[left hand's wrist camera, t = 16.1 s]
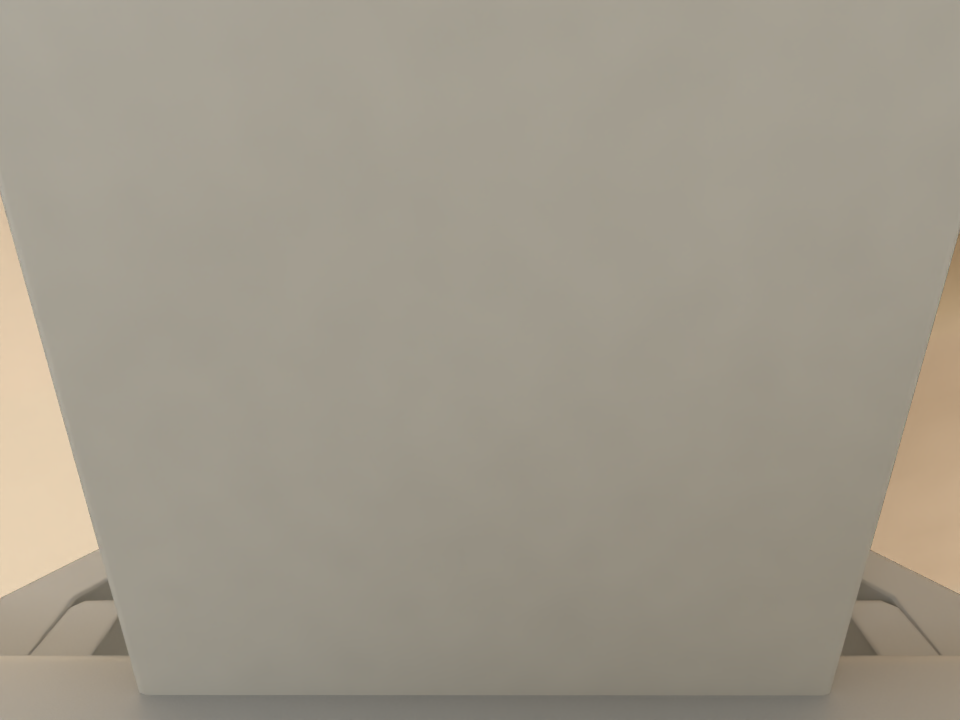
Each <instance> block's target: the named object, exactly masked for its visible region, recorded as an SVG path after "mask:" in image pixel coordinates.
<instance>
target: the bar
mask: <svg viewBox="0 0 960 720" xmlns="http://www.w3.org/2000/svg"><path fill="white" fill-rule="evenodd" d="M0 194H1V198H2V201H3V205H4V208H5V212H6V216H7V219H8V223H9V226H10V230H11V233H12V237H13V241H14V244H15V248H16V251H17V255H18V259H19V262H20V266H21V269H22V273H23V277H24V280H25V284H26V287H27V291H28V295H29V298H30V302H31V305H32V309H33V313H34V316H35V320H36V323H37V327H38V330H39V334H40V338H41V341H42V345H43V348H44V352H45V356H46V359H47V363H48V366H49V370H50V374H51V377H52V381H53V384H54V388H55V392H56V395H57V399H58V402H59V406H60V410H61V413H62V417H63V420H64V424H65V427H66V431H67V435H68V438H69V442H70V445H71V449H72V453H73V456H74V460H75V463H76V467H77V471H78V474H79V478H80V481H81V485H82V489H83V492H84V496H85V499H86V503H87V507H88V510H89V514H90V517H91V521H92V524H93V528H94V532H95V535H96V539H97V542H98V546H99V550H100V553H101V557H102V560H103V564H104V568H105V571H106V575H107V578H108V582H109V586H110V589H111V593H112V596H113V600H114V604H115V607H116V611H117V614H118V618H119V622H120V625H121V629H122V632H123V636H124V639H125V643H126V647H127V650H128V654H129V657H130V661H131V665H132V668H133V672H134V675H135V679H136V683H137V686H138V690H139V693H142V694H144V695H618V696H824V695H827V694H829V693H830V691H831V688H832V684H833V680H834V677H835V673H836V670H837V666H838V663H839V659H840V655H841V652H842V648H843V645H844V641H845V638H846V634H847V630H848V627H849V623H850V620H851V616H852V613H853V609H854V606H855V602H856V598H857V595H858V591H859V588H860V584H861V581H862V577H863V573H864V570H865V566H866V563H867V559H868V556H869V552H870V548H871V545H872V541H873V538H874V534H875V531H876V527H877V523H878V520H879V516H880V513H881V509H882V506H883V502H884V498H885V495H886V491H887V488H888V484H889V481H890V477H891V474H892V470H893V466H894V463H895V459H896V456H897V452H898V449H899V445H900V441H901V438H902V434H903V431H904V427H905V424H906V420H907V416H908V413H909V409H910V406H911V402H912V399H913V395H914V391H915V388H916V384H917V381H918V377H919V374H920V370H921V366H922V363H923V359H924V356H925V352H926V349H927V345H928V342H929V338H930V334H931V331H932V327H933V324H934V320H935V317H936V313H937V309H938V306H939V302H940V299H941V295H942V292H943V288H944V284H945V281H946V277H947V274H948V270H949V267H950V263H951V259H952V256H953V252H954V249H955V245H956V242H957V238H958V234H959V231H960V0H0Z"/></svg>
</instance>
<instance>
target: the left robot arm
mask: <svg viewBox="0 0 960 720" xmlns="http://www.w3.org/2000/svg"><path fill="white" fill-rule="evenodd" d="M0 720H960V594H958V593H956V592H954V591H952V590H950V589H948V588H946V587H944V586H942V585H940V584H938V583H936V582H934V581H932V580H930V579H928V578H926V577H924V576H922V575H920V574H918V573H916V572H914V571H912V570H910V569H908V568H906V567H904V566H902V565H900V564H898V563H896V562H894V561H892V560H890V559H888V558H886V557H883V556H881V555H879V554H877V553H875V552H873V551H871V550H870V552H869V556H868V559H867V563H866V566H865V570H864V573H863V577H862V581H861V584H860V588H859V591H858V595H857V598H856V602H855V606H854V609H853V613H852V616H851V620H850V623H849V627H848V630H847V634H846V638H845V641H844V645H843V648H842V652H841V655H840V659H839V663H838V666H837V670H836V673H835V677H834V680H833V684H832V688H831V691H830V693H829V694H827V695H824V696H618V695H144V694H142V693H139V690H138V686H137V683H136V679H135V675H134V672H133V668H132V665H131V661H130V657H129V654H128V650H127V647H126V643H125V639H124V636H123V632H122V629H121V625H120V622H119V618H118V614H117V611H116V607H115V604H114V600H113V596H112V593H111V589H110V586H109V582H108V578H107V575H106V571H105V568H104V564H103V560H102V557H101V553H100V550H99V549H98V550H96V551H94V552H92V553H90V554H88V555H86V556H84V557H82V558H80V559H78V560H76V561H74V562H72V563H70V564H68V565H66V566H64V567H62V568H60V569H58V570H56V571H54V572H52V573H50V574H48V575H46V576H44V577H42V578H40V579H38V580H36V581H34V582H32V583H30V584H28V585H26V586H24V587H22V588H20V589H18V590H16V591H14V592H12V593H10V594H8V595H6V596H4V597H2V598H0Z"/></svg>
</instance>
